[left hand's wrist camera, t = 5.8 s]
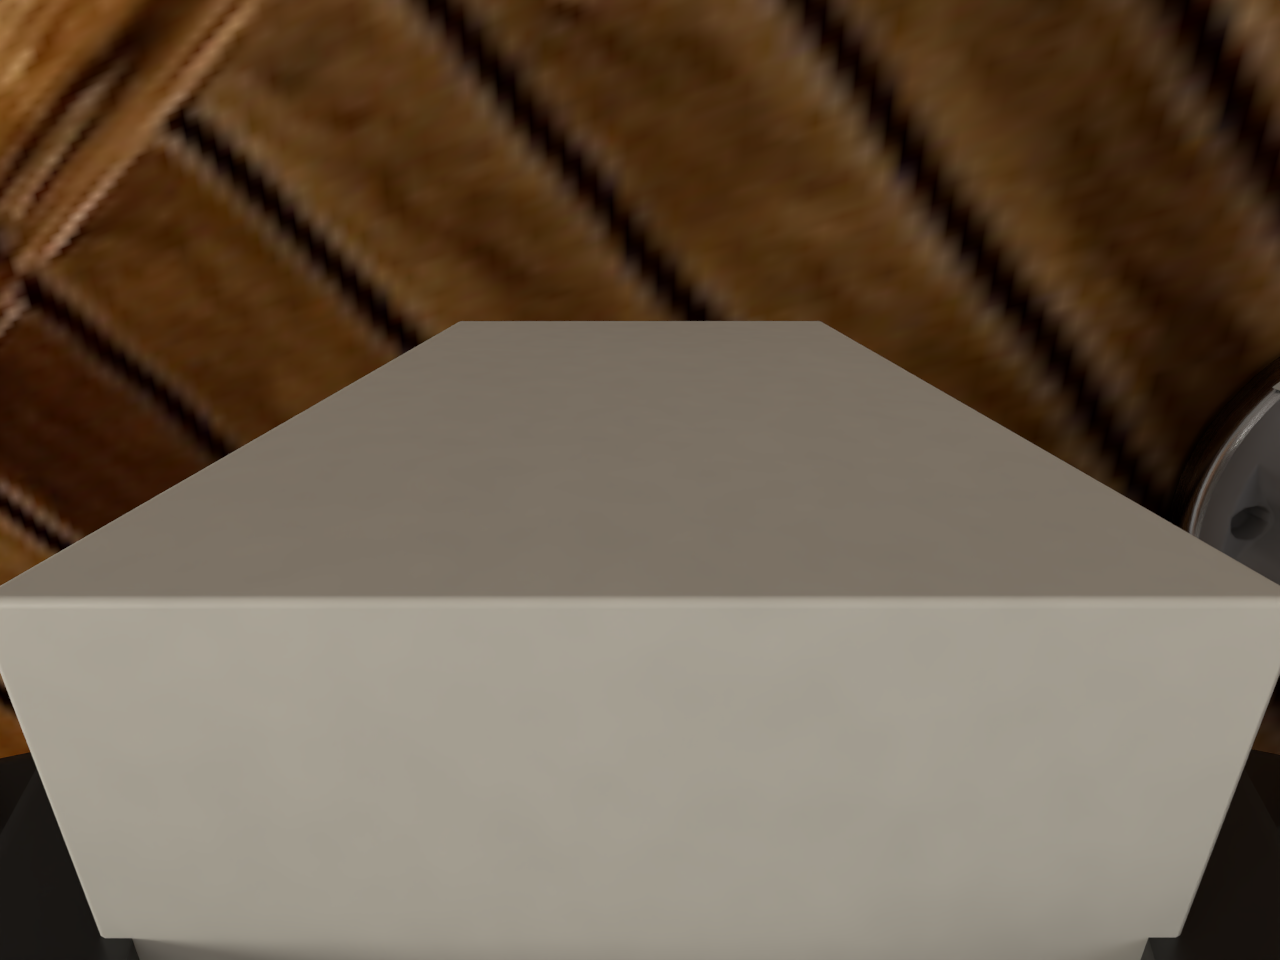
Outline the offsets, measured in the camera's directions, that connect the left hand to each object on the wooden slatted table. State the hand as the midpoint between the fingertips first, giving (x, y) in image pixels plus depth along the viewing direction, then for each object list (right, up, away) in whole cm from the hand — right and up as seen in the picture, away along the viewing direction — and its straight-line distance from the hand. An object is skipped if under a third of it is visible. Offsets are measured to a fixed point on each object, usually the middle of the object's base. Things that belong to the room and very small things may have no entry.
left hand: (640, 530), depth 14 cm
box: (0, -7, +5) cm, 8 cm away
